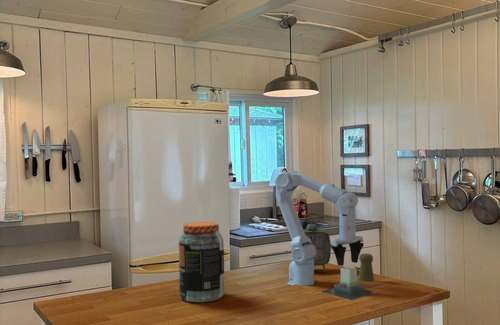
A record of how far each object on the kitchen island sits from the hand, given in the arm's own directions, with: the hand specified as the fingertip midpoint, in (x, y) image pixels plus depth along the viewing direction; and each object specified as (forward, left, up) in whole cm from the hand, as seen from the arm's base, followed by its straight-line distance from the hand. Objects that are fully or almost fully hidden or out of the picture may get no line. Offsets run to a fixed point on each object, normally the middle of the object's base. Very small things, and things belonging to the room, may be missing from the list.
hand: (347, 263), depth 179 cm
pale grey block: (+2, -2, -8) cm, 8 cm away
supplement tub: (-30, -43, -11) cm, 53 cm away
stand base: (+2, -2, -10) cm, 11 cm away
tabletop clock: (-31, +14, -11) cm, 35 cm away
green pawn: (-5, +17, -11) cm, 20 cm away
